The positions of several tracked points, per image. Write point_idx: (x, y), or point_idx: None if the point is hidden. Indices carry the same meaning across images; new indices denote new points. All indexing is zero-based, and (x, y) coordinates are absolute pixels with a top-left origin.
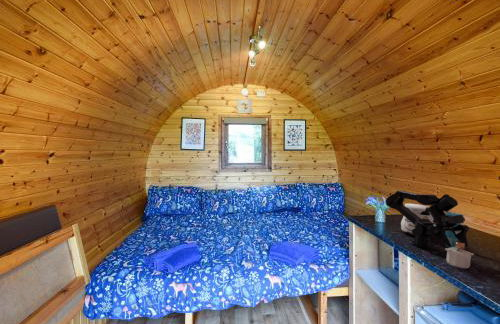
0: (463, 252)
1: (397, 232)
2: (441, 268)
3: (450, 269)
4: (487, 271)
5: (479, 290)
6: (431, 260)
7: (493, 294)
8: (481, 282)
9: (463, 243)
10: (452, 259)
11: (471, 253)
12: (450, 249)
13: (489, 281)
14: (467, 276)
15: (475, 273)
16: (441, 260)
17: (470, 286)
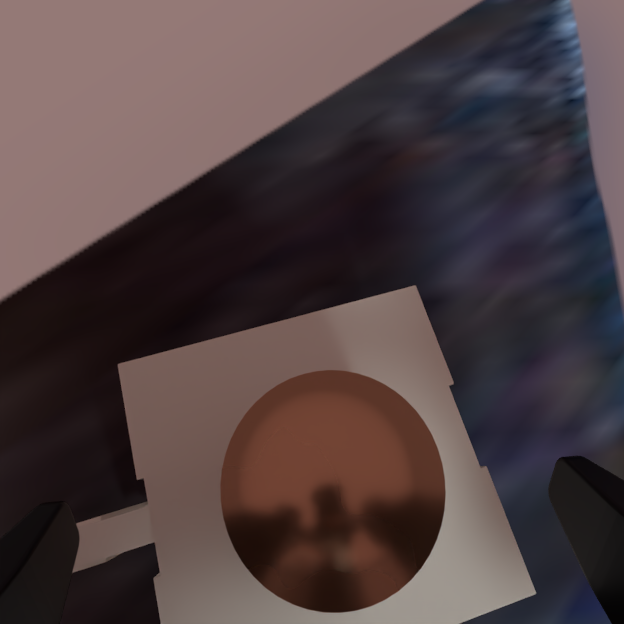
0: None
1: None
2: (606, 351)
3: (518, 332)
4: (105, 299)
5: (542, 45)
6: None
7: (483, 9)
8: (416, 126)
9: (283, 415)
10: None
11: (160, 370)
12: (442, 549)
13: (322, 137)
14: (454, 209)
15: (307, 259)
16: None
17: (568, 85)
